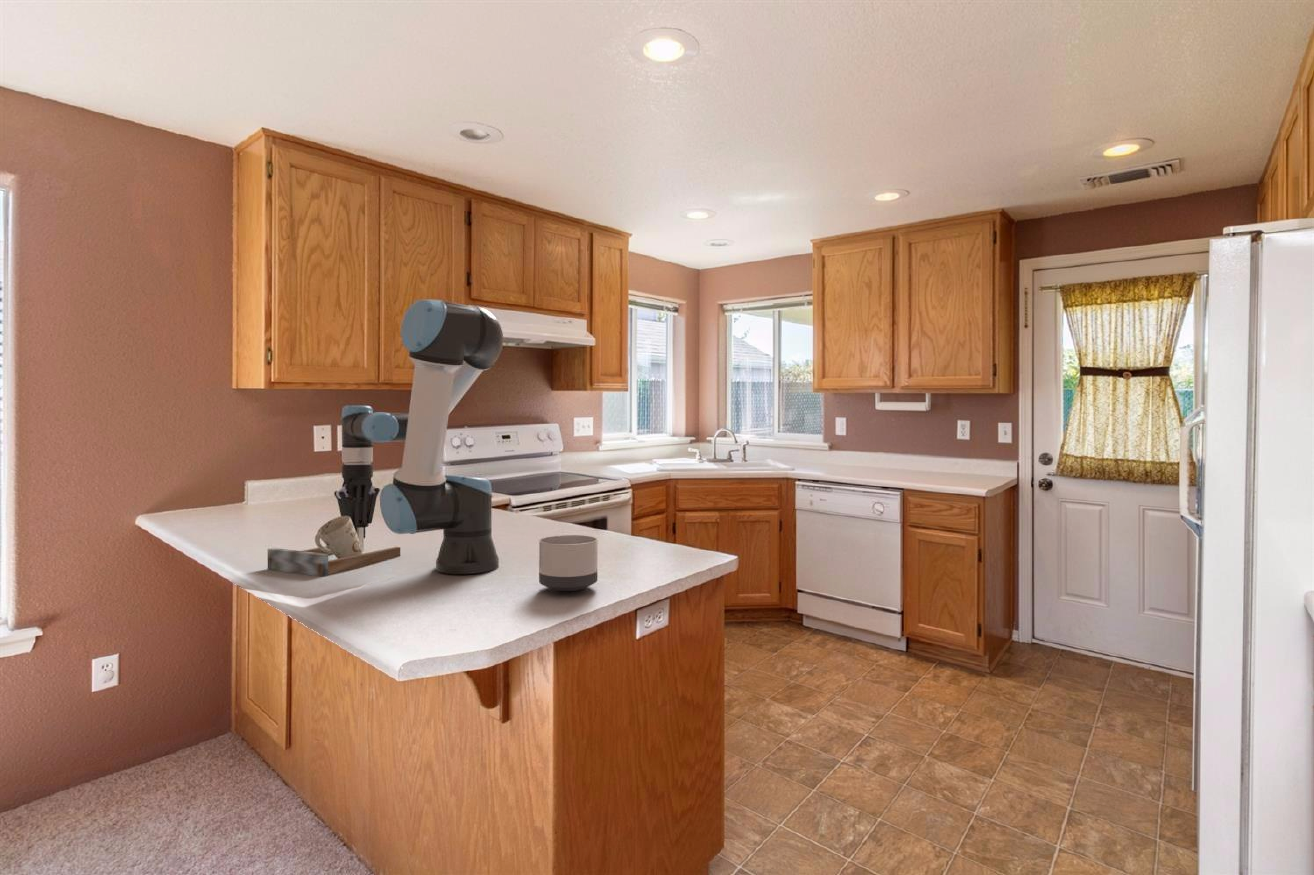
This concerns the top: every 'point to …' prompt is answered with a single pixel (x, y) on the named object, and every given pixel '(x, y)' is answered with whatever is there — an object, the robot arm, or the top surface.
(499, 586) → the top surface
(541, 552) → the planter
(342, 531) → the mug
